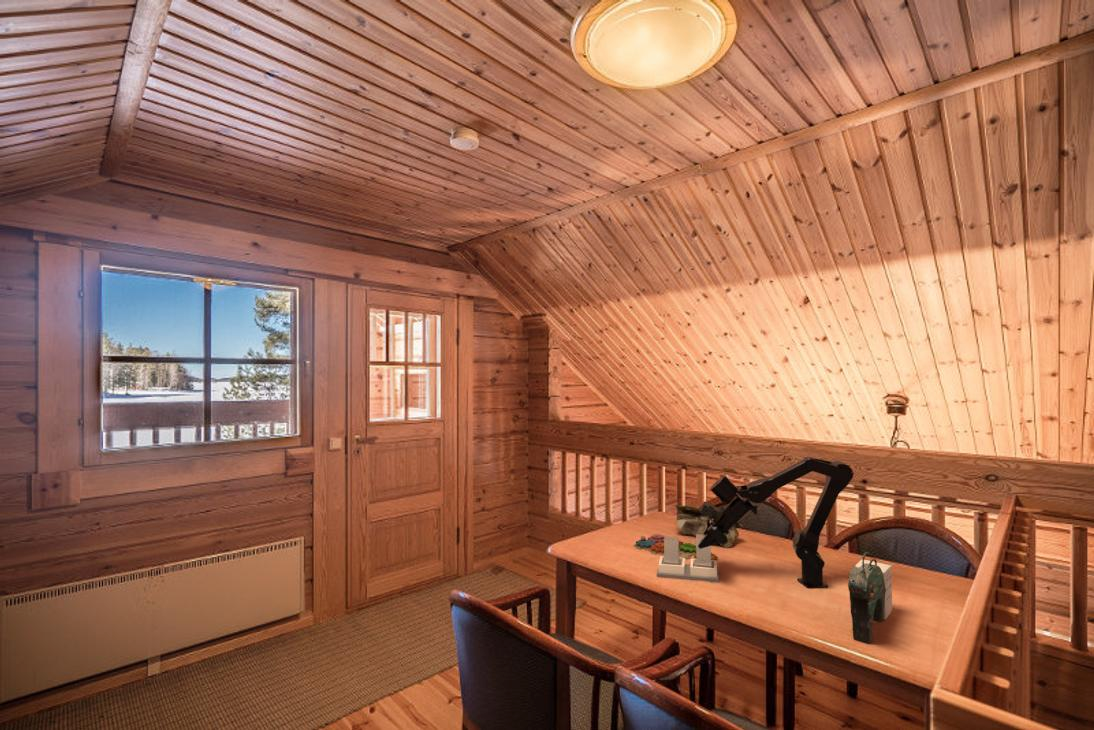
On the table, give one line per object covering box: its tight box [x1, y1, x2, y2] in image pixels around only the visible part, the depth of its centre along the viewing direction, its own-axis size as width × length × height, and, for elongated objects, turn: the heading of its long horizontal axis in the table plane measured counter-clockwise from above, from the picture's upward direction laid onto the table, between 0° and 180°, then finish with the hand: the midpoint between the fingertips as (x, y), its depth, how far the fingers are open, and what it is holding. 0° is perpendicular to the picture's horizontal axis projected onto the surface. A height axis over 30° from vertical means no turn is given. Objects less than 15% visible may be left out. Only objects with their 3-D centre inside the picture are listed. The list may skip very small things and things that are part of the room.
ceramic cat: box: [847, 551, 886, 645], centre depth 136 cm, size 20×6×20 cm, turn 136°
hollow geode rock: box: [674, 504, 744, 549], centre depth 209 cm, size 28×13×15 cm
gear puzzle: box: [633, 533, 719, 561], centre depth 196 cm, size 31×16×4 cm, turn 41°
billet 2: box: [695, 534, 712, 568], centre depth 174 cm, size 4×4×10 cm
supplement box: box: [854, 559, 893, 620], centre depth 145 cm, size 7×7×13 cm
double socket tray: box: [656, 555, 720, 583], centre depth 175 cm, size 19×11×4 cm, turn 73°
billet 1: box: [663, 535, 680, 565], centre depth 177 cm, size 4×4×10 cm
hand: (699, 545), depth 174 cm, fingers closed on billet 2, 4 cm apart
